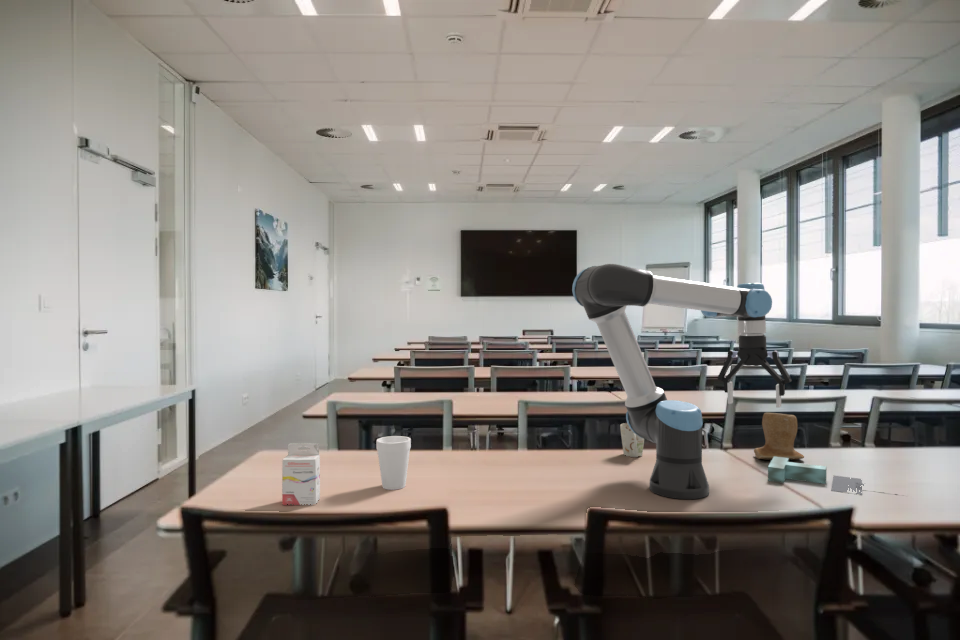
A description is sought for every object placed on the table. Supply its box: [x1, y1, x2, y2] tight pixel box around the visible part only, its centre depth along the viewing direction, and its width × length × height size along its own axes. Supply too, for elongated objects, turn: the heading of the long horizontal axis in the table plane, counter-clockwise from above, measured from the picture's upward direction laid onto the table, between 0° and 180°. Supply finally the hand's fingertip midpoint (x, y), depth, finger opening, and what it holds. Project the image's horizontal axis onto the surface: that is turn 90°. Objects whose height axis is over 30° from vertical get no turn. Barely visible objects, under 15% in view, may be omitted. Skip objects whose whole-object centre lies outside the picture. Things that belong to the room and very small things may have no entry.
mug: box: [619, 422, 645, 458], centre depth 196 cm, size 8×13×10 cm, turn 174°
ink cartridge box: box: [281, 442, 321, 506], centre depth 151 cm, size 9×5×15 cm, turn 92°
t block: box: [767, 456, 828, 485], centre depth 171 cm, size 14×14×4 cm
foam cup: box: [375, 435, 412, 491], centre depth 165 cm, size 10×9×13 cm
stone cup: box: [753, 412, 805, 461], centre depth 193 cm, size 15×12×15 cm
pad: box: [830, 474, 865, 496], centre depth 162 cm, size 17×17×1 cm
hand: (754, 405), depth 179 cm, fingers open, 13 cm apart
